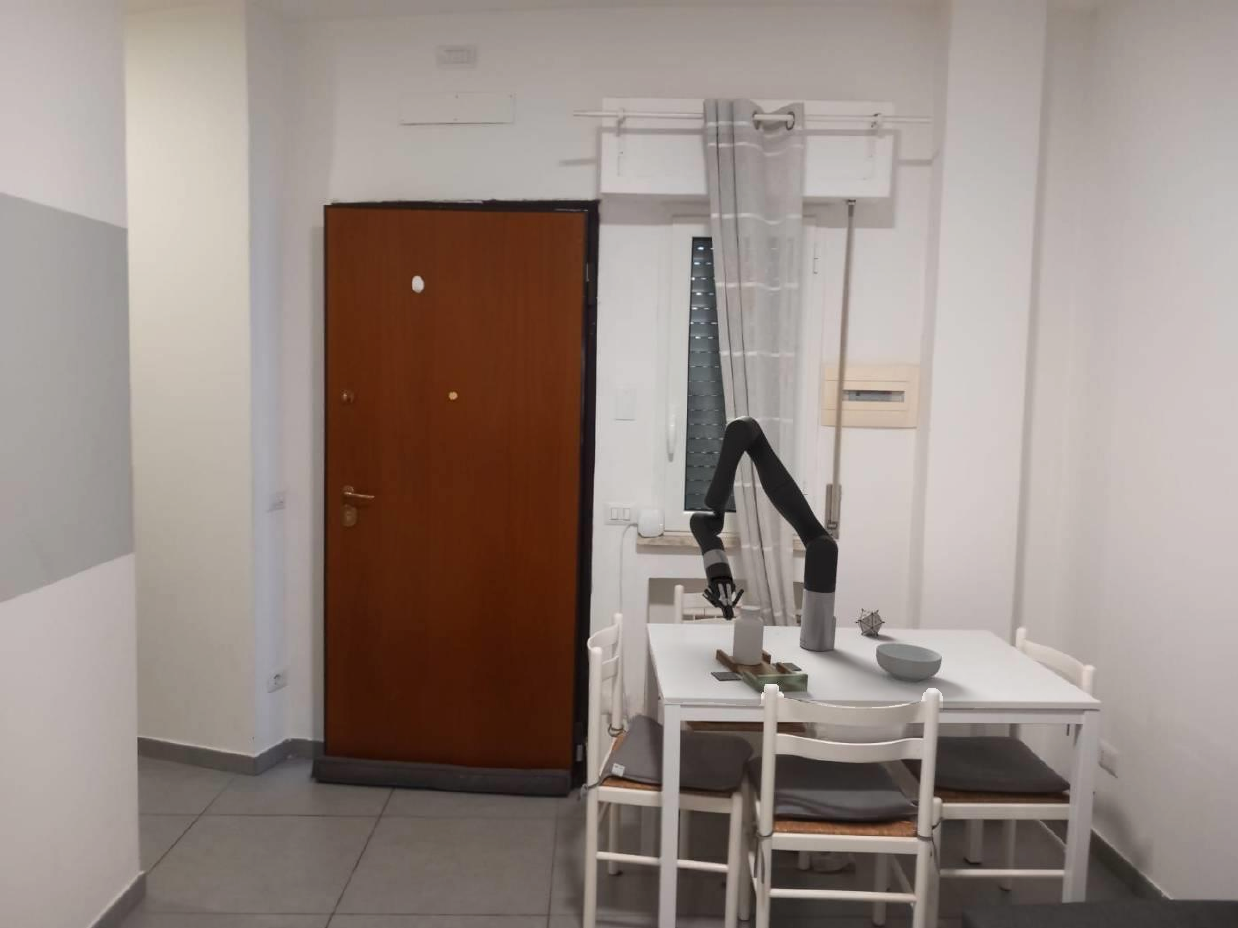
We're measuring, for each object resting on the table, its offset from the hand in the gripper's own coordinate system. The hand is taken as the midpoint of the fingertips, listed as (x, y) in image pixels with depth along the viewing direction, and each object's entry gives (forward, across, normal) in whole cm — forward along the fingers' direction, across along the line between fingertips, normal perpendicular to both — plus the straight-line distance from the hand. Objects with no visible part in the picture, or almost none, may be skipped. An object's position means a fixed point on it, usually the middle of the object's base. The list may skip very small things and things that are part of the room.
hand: (729, 618), depth 251 cm
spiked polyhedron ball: (-3, +53, +15) cm, 55 cm away
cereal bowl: (+26, +40, -14) cm, 50 cm away
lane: (+21, 0, -9) cm, 23 cm away
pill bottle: (+16, 0, -3) cm, 16 cm away
